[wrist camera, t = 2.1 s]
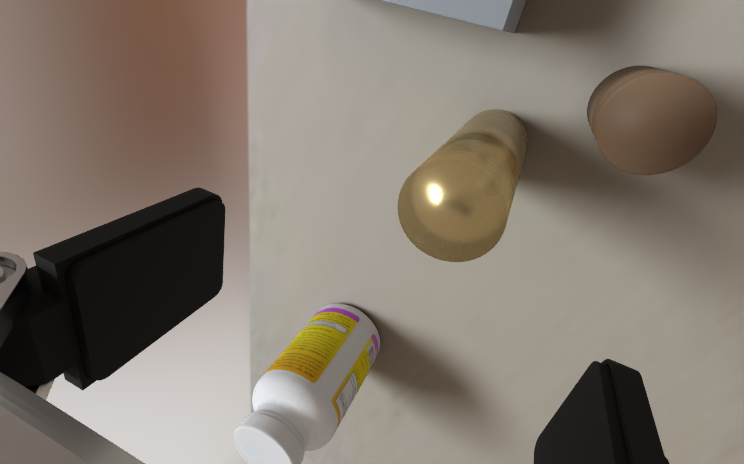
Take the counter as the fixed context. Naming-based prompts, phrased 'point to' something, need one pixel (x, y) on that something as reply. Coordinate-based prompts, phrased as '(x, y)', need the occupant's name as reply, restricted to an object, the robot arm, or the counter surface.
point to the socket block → (473, 11)
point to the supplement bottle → (309, 387)
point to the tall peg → (465, 189)
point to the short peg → (651, 119)
